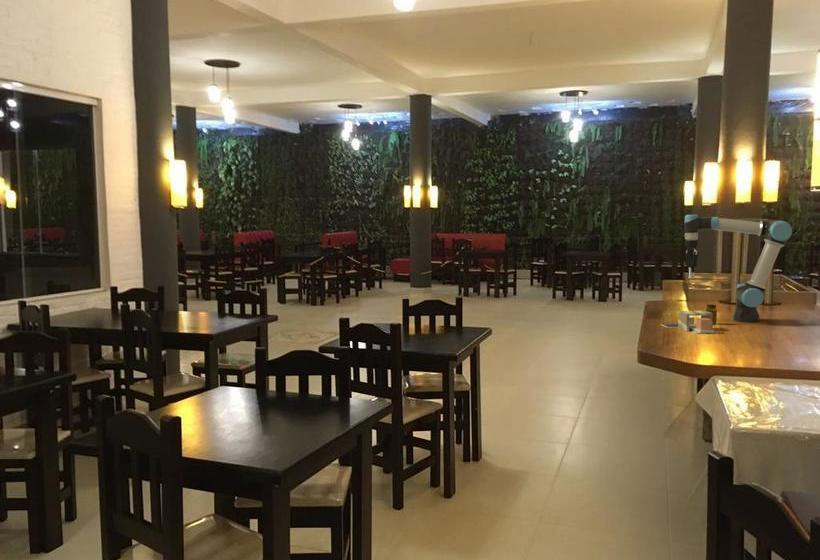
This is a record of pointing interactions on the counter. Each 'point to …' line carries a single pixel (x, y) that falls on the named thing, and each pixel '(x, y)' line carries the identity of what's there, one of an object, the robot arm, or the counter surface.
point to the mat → (697, 332)
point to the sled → (701, 325)
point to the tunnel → (684, 315)
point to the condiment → (713, 310)
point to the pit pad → (671, 325)
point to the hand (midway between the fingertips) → (691, 277)
